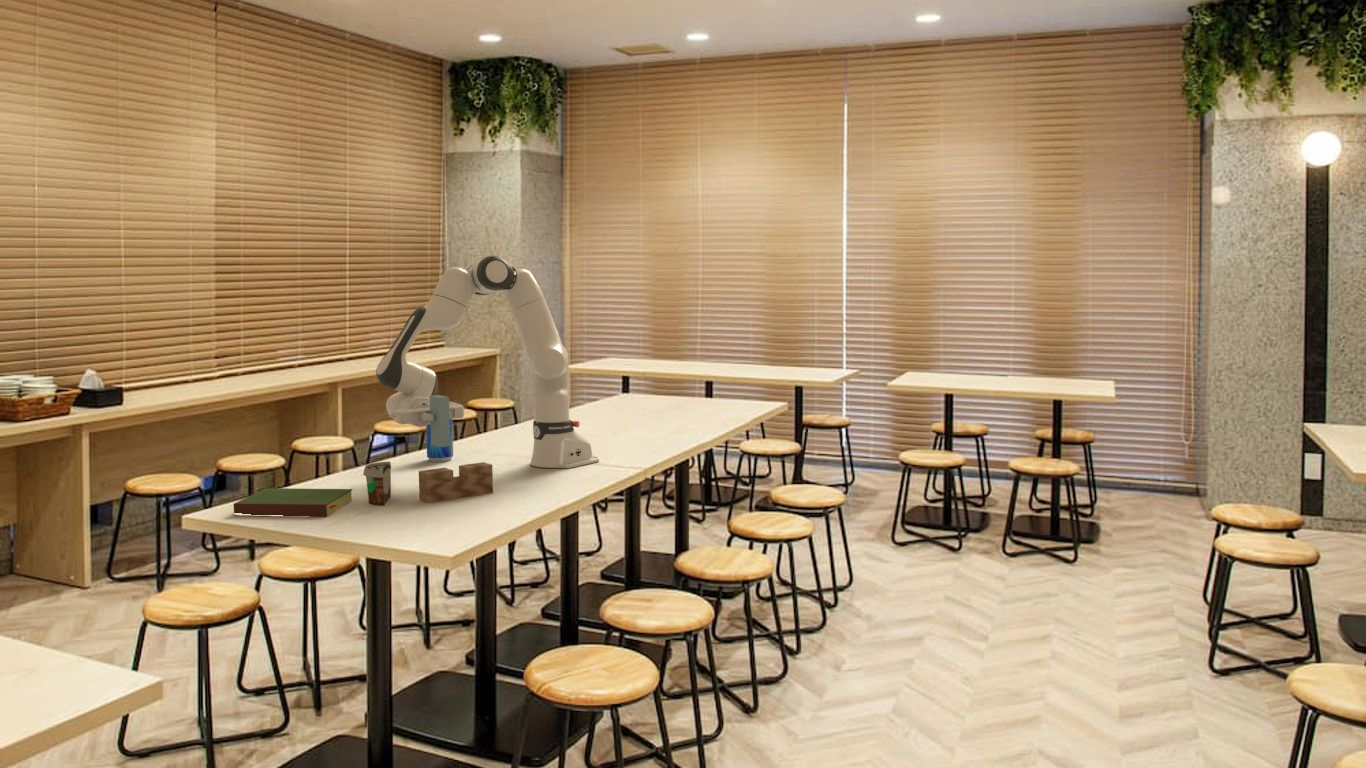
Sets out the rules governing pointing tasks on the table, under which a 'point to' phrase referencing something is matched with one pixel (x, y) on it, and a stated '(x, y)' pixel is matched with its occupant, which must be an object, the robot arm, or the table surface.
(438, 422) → the sage green pillar
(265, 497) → the hardcover book
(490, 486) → the notched wooden block
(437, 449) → the beer can
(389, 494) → the food container
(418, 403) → the robot arm
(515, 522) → the table surface
